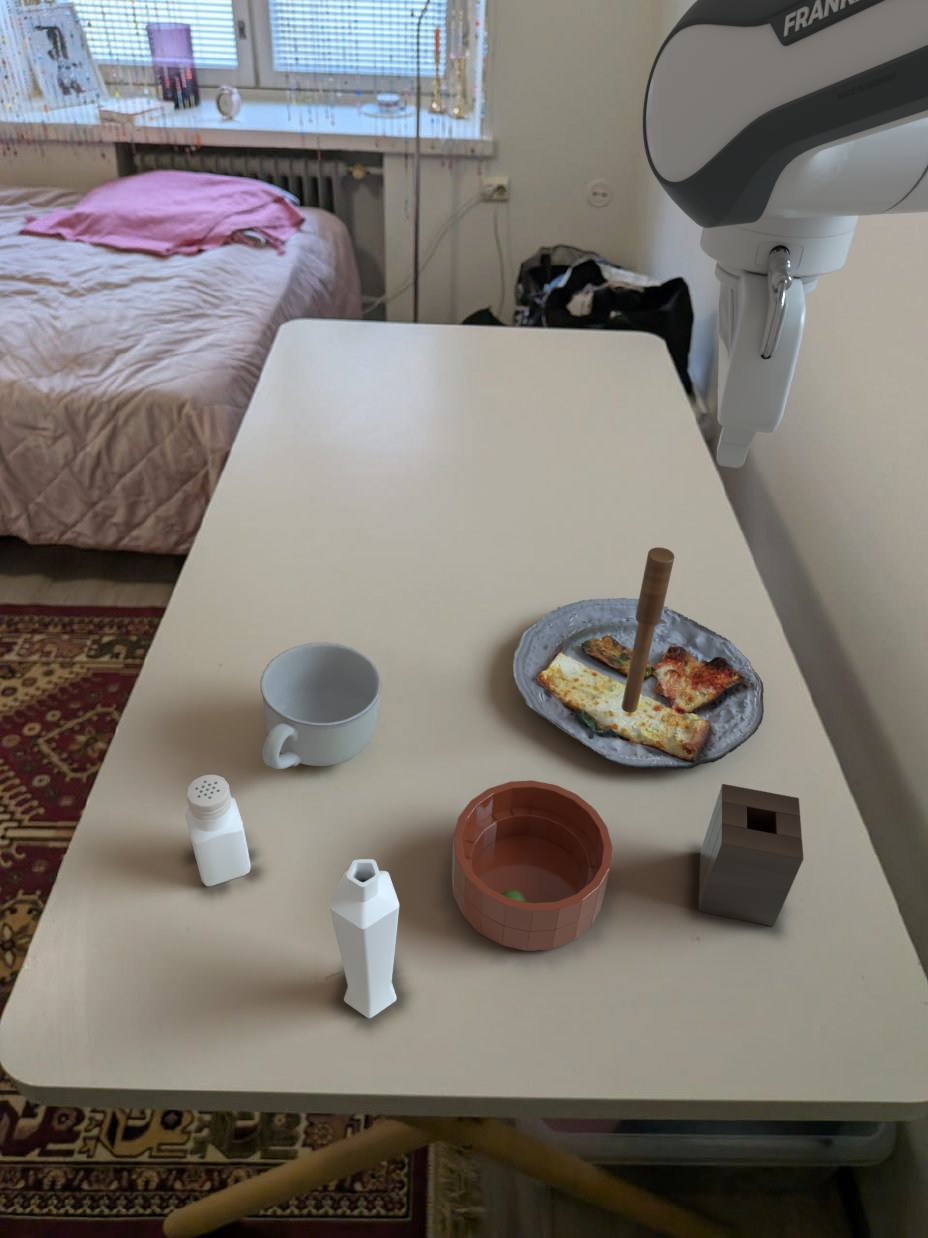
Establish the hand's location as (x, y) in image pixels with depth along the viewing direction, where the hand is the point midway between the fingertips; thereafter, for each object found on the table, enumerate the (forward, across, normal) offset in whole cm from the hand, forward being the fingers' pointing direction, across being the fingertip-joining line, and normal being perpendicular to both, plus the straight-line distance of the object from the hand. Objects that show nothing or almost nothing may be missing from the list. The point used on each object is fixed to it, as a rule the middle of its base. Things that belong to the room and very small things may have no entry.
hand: (728, 429), depth 65 cm
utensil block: (+35, -12, -8) cm, 38 cm away
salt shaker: (+35, -20, +34) cm, 53 cm away
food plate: (+35, +10, +2) cm, 37 cm away
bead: (+33, -19, +10) cm, 40 cm away
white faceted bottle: (+35, -28, +19) cm, 49 cm away
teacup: (+35, -6, +31) cm, 47 cm away
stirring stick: (+32, +4, +2) cm, 32 cm away
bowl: (+35, -16, +9) cm, 40 cm away
